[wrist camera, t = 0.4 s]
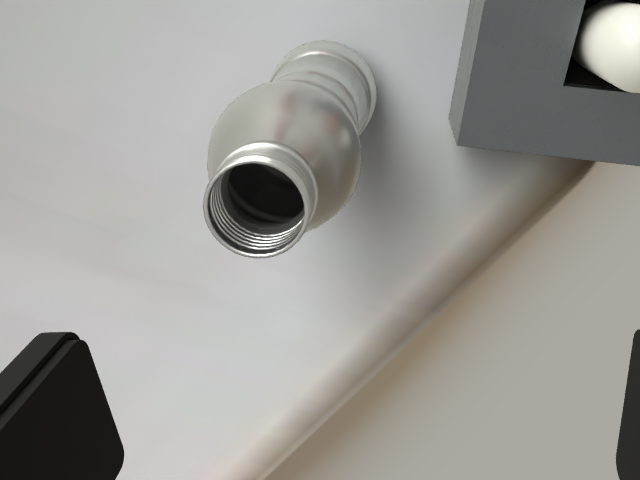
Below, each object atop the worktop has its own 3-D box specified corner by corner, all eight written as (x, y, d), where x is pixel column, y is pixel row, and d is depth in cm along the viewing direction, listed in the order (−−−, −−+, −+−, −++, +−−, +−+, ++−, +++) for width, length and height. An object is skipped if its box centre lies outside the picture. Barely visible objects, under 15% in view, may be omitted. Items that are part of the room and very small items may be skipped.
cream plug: (579, -4, 30) (618, 4, 25) (650, 3, 30) (704, 12, 24) (560, 67, 32) (593, 88, 26) (628, 74, 31) (674, 97, 26)
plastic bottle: (399, 92, 36) (398, 218, 18) (322, 159, 39) (254, 326, 21) (331, 11, 35) (257, 65, 17) (255, 86, 37) (121, 202, 19)
